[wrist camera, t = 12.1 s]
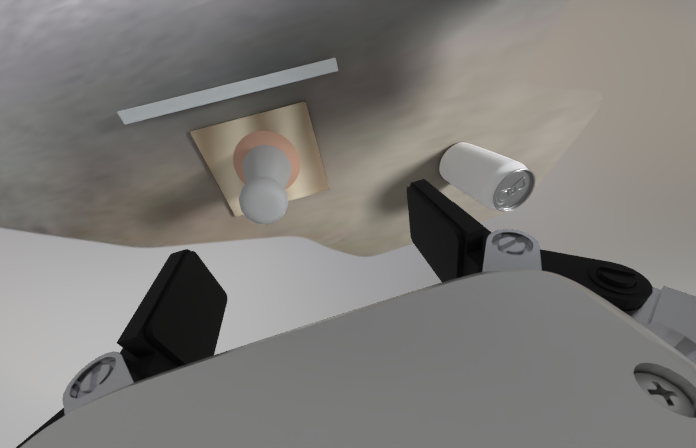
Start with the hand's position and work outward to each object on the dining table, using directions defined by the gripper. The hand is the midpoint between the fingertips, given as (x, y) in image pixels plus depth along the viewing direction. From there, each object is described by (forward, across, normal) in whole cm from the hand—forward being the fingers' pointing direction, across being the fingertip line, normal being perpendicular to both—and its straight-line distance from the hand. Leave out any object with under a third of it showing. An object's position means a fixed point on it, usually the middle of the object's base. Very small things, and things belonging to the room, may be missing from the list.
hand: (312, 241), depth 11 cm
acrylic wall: (+25, +5, -6) cm, 26 cm away
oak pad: (+25, +5, +4) cm, 26 cm away
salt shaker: (+25, +5, +3) cm, 25 cm away
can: (+26, -23, +12) cm, 37 cm away
